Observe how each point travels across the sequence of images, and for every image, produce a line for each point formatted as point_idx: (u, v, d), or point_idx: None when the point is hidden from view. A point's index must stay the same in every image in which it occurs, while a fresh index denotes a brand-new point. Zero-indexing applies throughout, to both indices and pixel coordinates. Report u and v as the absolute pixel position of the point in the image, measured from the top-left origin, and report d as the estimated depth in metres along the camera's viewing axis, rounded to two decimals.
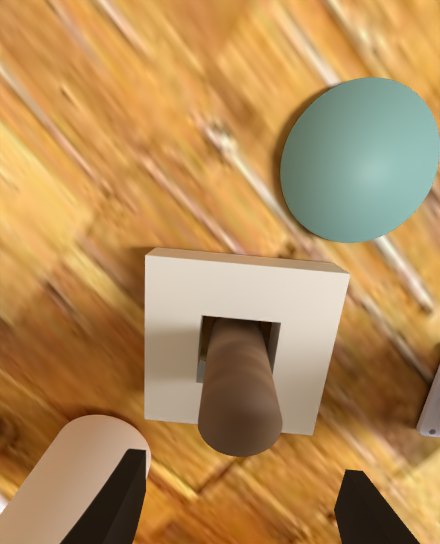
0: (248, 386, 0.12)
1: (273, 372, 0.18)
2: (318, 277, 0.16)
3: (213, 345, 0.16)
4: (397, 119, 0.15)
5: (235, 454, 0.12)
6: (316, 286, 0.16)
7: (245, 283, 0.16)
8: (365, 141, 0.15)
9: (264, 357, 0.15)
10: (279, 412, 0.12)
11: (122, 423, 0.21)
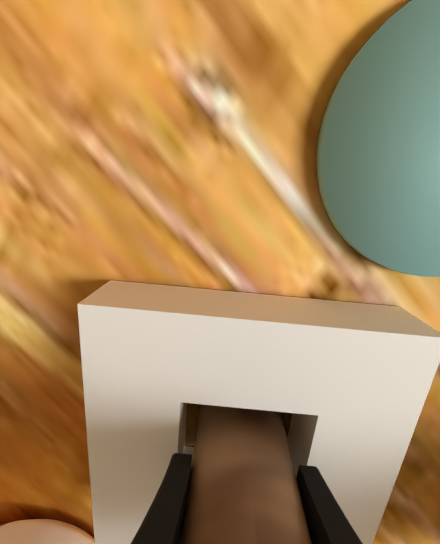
0: None
1: None
2: (389, 343, 0.09)
3: (201, 461, 0.09)
4: None
5: None
6: (384, 358, 0.09)
7: (257, 352, 0.09)
8: None
9: (295, 500, 0.08)
10: None
11: (70, 535, 0.14)
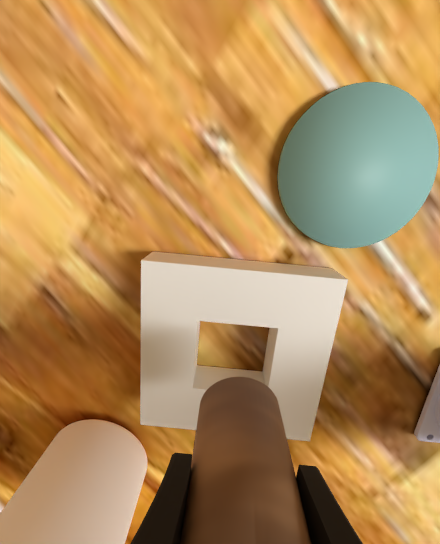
0: None
1: (270, 378, 0.17)
2: (315, 283, 0.15)
3: (201, 461, 0.09)
4: (395, 124, 0.15)
5: None
6: (313, 292, 0.16)
7: (242, 288, 0.16)
8: (363, 146, 0.15)
9: (295, 500, 0.08)
10: None
11: (119, 428, 0.21)
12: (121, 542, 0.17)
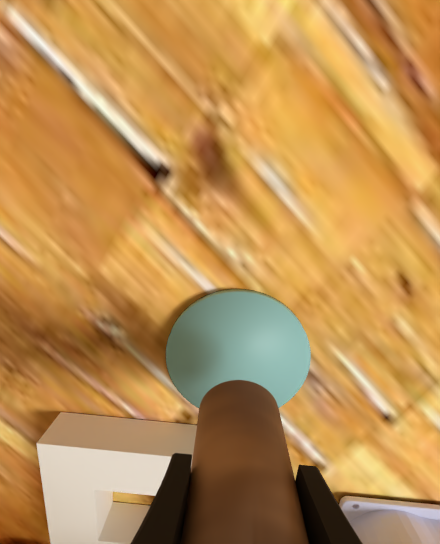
0: None
1: None
2: None
3: (205, 462, 0.09)
4: (267, 325, 0.16)
5: None
6: None
7: (132, 466, 0.17)
8: (240, 340, 0.16)
9: (297, 508, 0.08)
10: None
11: None
12: None
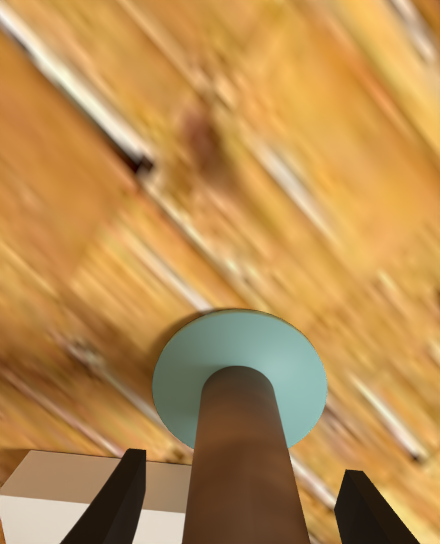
0: None
1: None
2: None
3: (208, 435, 0.10)
4: (274, 353, 0.13)
5: None
6: None
7: None
8: None
9: (290, 472, 0.09)
10: None
11: None
12: None
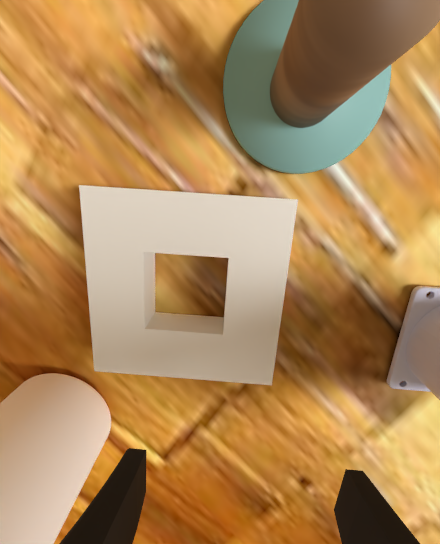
0: None
1: (225, 315, 0.17)
2: (263, 204, 0.15)
3: None
4: None
5: (364, 51, 0.07)
6: (262, 215, 0.15)
7: (187, 214, 0.15)
8: None
9: None
10: None
11: (78, 381, 0.20)
12: (70, 488, 0.16)
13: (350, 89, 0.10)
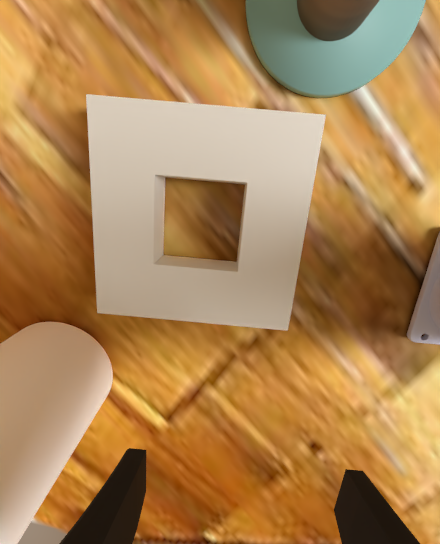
0: None
1: (241, 249, 0.15)
2: (288, 120, 0.13)
3: None
4: None
5: None
6: (286, 132, 0.13)
7: (203, 130, 0.14)
8: None
9: None
10: None
11: (78, 330, 0.19)
12: (70, 432, 0.15)
13: None
